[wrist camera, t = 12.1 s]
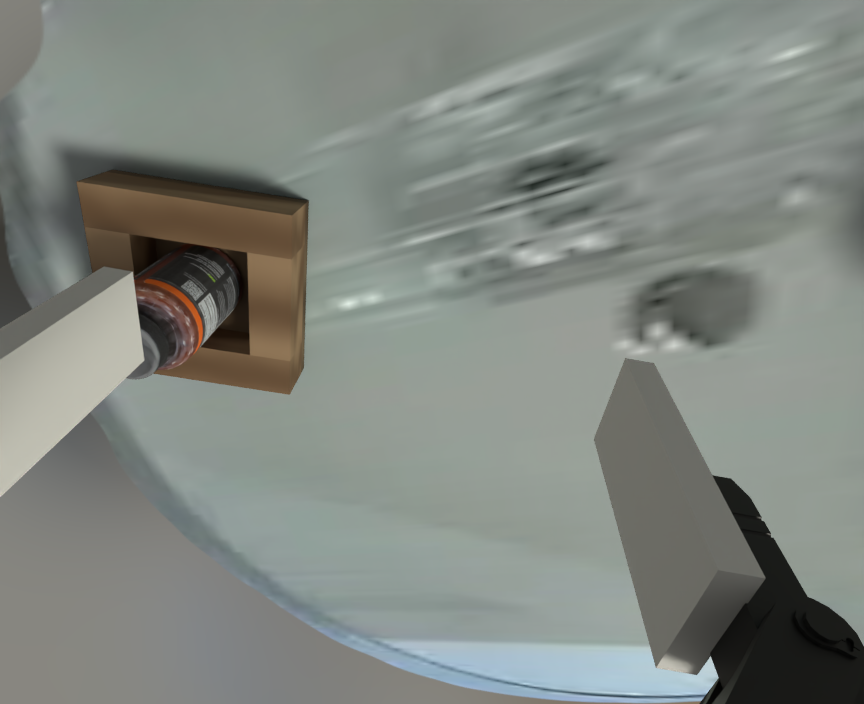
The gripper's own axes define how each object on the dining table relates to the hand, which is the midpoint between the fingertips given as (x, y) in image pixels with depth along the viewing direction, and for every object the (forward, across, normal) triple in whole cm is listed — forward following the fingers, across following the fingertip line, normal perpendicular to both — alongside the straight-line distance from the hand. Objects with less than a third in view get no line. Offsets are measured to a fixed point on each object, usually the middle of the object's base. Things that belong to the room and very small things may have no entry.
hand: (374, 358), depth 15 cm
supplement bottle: (+25, -16, -11) cm, 31 cm away
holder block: (+25, -16, -11) cm, 32 cm away
